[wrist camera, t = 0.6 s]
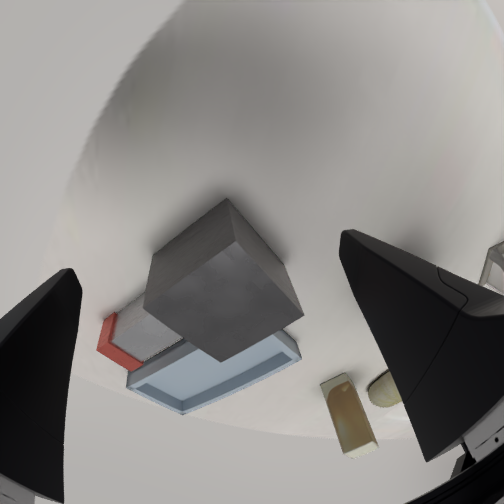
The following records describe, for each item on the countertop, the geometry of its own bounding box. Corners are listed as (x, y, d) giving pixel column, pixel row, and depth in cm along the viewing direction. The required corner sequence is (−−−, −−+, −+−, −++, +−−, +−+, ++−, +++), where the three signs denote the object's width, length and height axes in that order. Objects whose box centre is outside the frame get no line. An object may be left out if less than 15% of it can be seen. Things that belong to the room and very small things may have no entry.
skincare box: (354, 385, 43) (380, 448, 33) (330, 396, 44) (353, 460, 34) (344, 370, 40) (374, 441, 29) (318, 383, 40) (343, 455, 30)
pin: (244, 269, 27) (251, 299, 23) (135, 342, 30) (131, 371, 27) (212, 236, 24) (215, 265, 21) (103, 320, 28) (96, 350, 24)
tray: (296, 342, 34) (302, 359, 31) (182, 400, 37) (182, 415, 35) (248, 298, 28) (252, 316, 26) (128, 371, 32) (126, 387, 30)
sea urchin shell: (411, 389, 46) (397, 423, 41) (376, 376, 51) (359, 409, 45) (426, 363, 41) (413, 401, 36) (386, 349, 45) (370, 385, 40)
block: (284, 265, 27) (304, 315, 22) (215, 310, 29) (220, 362, 23) (226, 198, 23) (235, 241, 17) (152, 255, 24) (142, 308, 19)
